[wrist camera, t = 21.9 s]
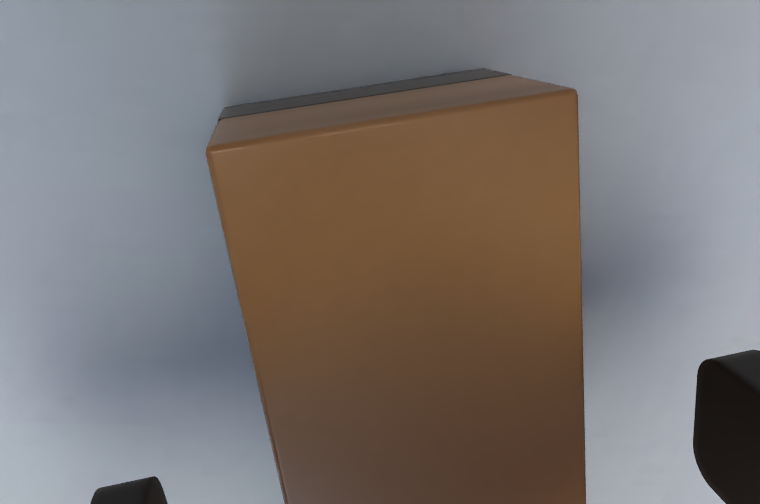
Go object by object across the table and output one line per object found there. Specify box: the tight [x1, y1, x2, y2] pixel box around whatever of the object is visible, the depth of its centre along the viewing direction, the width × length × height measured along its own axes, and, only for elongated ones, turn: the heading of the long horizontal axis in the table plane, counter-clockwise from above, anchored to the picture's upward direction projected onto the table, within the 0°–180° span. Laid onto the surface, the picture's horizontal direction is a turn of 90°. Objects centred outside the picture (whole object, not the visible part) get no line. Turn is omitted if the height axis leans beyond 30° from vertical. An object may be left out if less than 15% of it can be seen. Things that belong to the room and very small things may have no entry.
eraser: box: [206, 68, 586, 504], centre depth 12 cm, size 11×5×4 cm, turn 7°
